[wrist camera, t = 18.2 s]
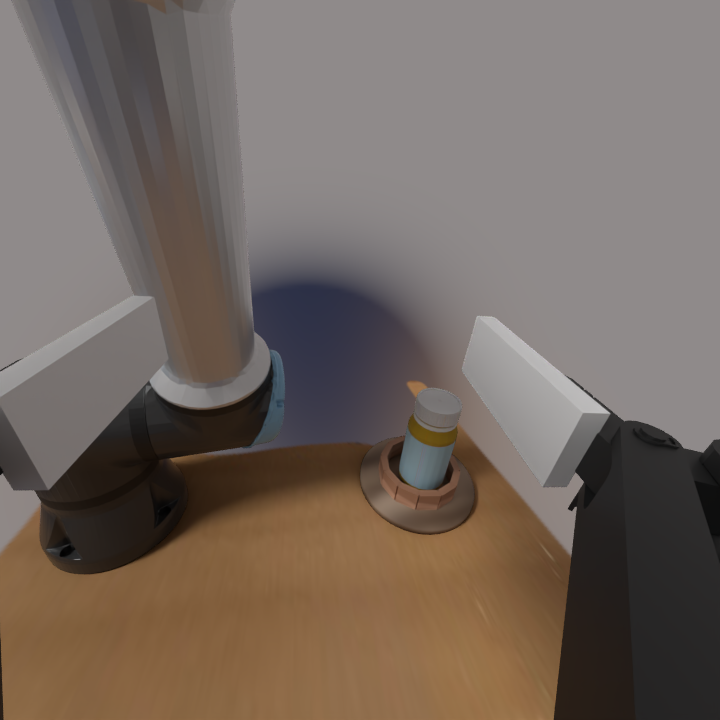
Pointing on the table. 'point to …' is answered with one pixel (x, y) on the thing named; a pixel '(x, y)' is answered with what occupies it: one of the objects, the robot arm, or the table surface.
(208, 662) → the table surface
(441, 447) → the bottle
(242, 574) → the table surface
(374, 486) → the bottle holder
